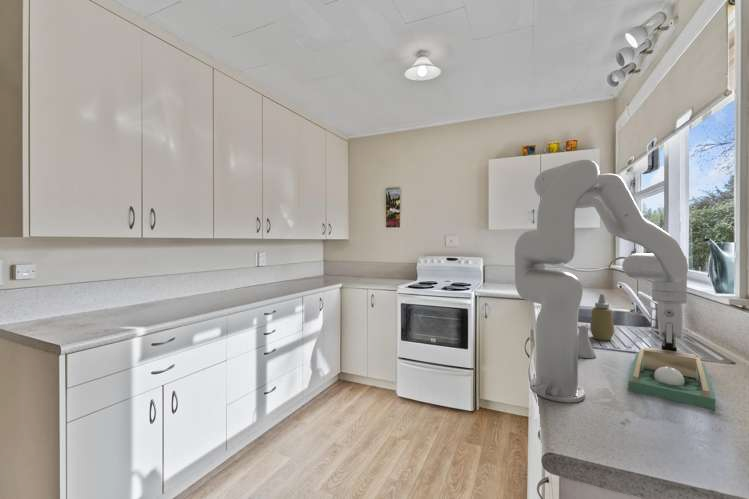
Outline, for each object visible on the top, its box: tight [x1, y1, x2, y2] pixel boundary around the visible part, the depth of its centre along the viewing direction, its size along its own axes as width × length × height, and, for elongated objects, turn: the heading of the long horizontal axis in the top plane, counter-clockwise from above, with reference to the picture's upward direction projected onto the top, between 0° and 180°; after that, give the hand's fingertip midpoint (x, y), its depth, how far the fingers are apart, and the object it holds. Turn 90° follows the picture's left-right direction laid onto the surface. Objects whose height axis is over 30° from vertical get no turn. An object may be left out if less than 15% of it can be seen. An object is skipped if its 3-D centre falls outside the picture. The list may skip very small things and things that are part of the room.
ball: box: [654, 366, 685, 386], centre depth 87 cm, size 6×6×6 cm
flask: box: [578, 325, 597, 359], centre depth 114 cm, size 7×7×10 cm
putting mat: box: [627, 347, 716, 411], centre depth 93 cm, size 30×16×4 cm, turn 139°
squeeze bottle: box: [589, 293, 615, 342], centre depth 133 cm, size 8×8×18 cm
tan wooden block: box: [643, 346, 697, 378], centre depth 93 cm, size 4×11×5 cm, turn 49°
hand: (669, 359), depth 96 cm, fingers closed
